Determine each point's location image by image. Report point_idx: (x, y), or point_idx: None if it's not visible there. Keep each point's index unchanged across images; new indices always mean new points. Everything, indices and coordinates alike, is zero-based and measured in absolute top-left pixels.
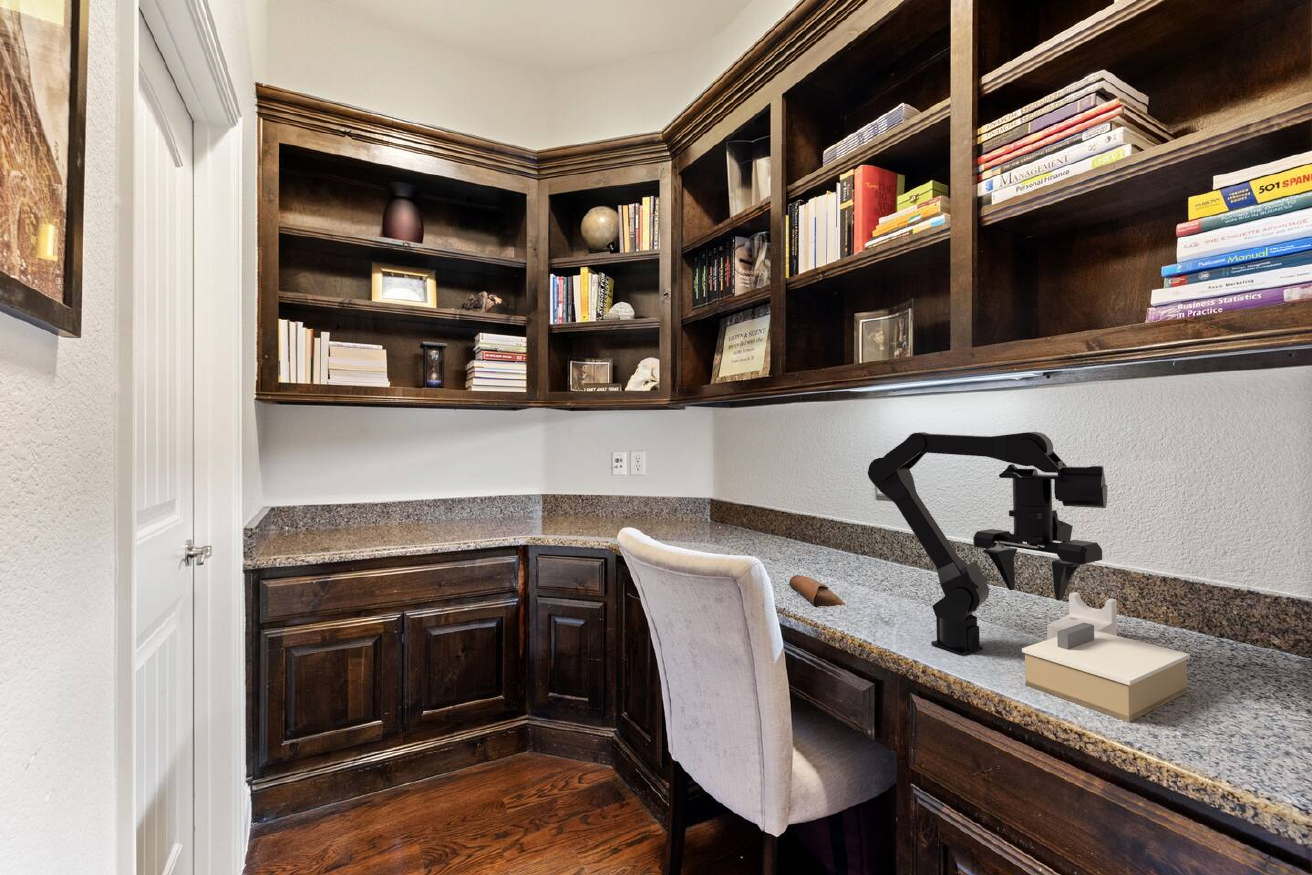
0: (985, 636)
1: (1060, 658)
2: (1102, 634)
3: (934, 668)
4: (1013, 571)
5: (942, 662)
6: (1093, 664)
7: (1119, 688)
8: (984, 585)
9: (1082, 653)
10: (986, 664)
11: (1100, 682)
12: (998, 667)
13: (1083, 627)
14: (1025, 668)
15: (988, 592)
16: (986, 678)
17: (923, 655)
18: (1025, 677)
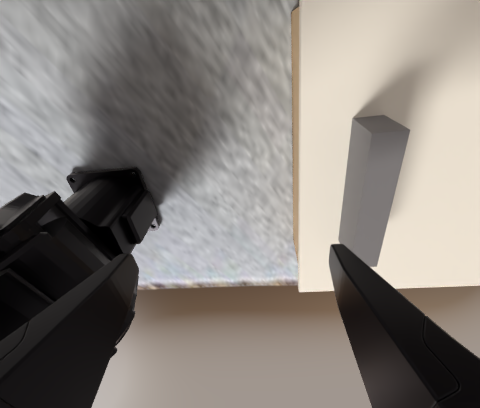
0: (56, 85)
1: None
2: (386, 17)
3: (190, 284)
4: (72, 325)
5: (175, 264)
6: (429, 266)
7: None
8: (48, 283)
9: (394, 234)
10: (205, 221)
11: None
12: (223, 216)
13: (390, 188)
14: (297, 259)
15: (58, 243)
16: (247, 260)
17: (142, 265)
18: (295, 248)
